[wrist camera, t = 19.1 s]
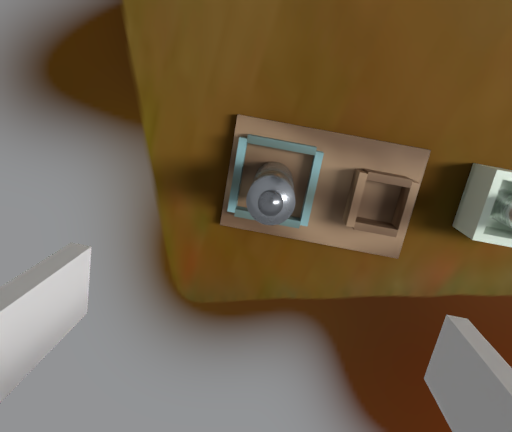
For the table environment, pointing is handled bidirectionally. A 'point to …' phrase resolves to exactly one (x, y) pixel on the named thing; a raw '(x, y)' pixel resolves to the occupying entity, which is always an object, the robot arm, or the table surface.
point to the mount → (328, 185)
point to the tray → (483, 205)
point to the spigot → (271, 194)
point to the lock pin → (503, 207)
